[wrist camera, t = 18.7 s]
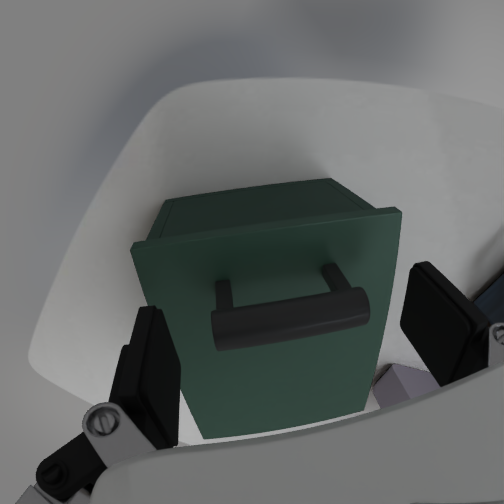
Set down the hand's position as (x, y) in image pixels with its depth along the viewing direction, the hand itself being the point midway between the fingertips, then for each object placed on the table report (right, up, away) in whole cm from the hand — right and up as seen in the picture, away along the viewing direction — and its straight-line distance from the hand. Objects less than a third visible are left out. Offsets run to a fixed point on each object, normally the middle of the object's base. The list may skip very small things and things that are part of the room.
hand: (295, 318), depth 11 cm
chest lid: (0, -3, +7) cm, 8 cm away
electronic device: (+18, -14, +25) cm, 34 cm away
